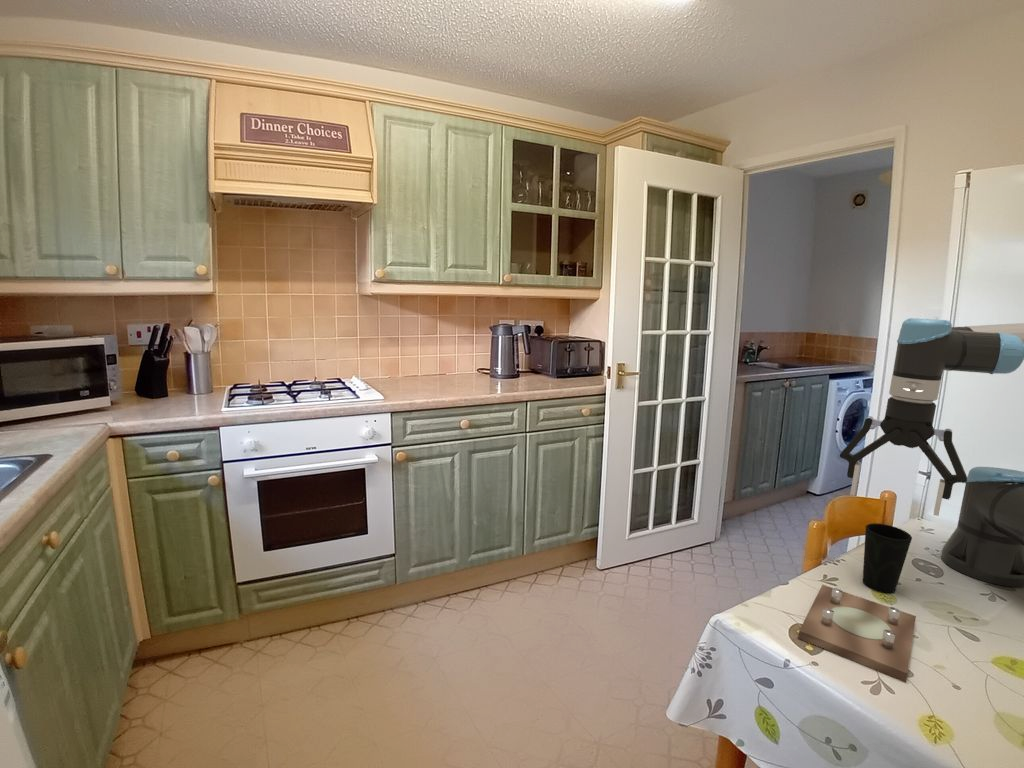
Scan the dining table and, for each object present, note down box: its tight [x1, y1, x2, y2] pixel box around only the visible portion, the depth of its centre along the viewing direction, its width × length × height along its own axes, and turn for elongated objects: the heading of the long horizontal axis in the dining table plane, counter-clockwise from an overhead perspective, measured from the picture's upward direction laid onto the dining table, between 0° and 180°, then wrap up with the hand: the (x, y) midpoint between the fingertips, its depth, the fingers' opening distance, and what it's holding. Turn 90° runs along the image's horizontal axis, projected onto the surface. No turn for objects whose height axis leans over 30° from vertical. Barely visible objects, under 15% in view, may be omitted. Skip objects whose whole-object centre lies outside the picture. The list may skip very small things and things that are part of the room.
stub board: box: [797, 584, 917, 683], centre depth 93 cm, size 15×20×4 cm
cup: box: [862, 522, 913, 595], centre depth 108 cm, size 8×8×12 cm
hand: (893, 503), depth 106 cm, fingers open, 13 cm apart
